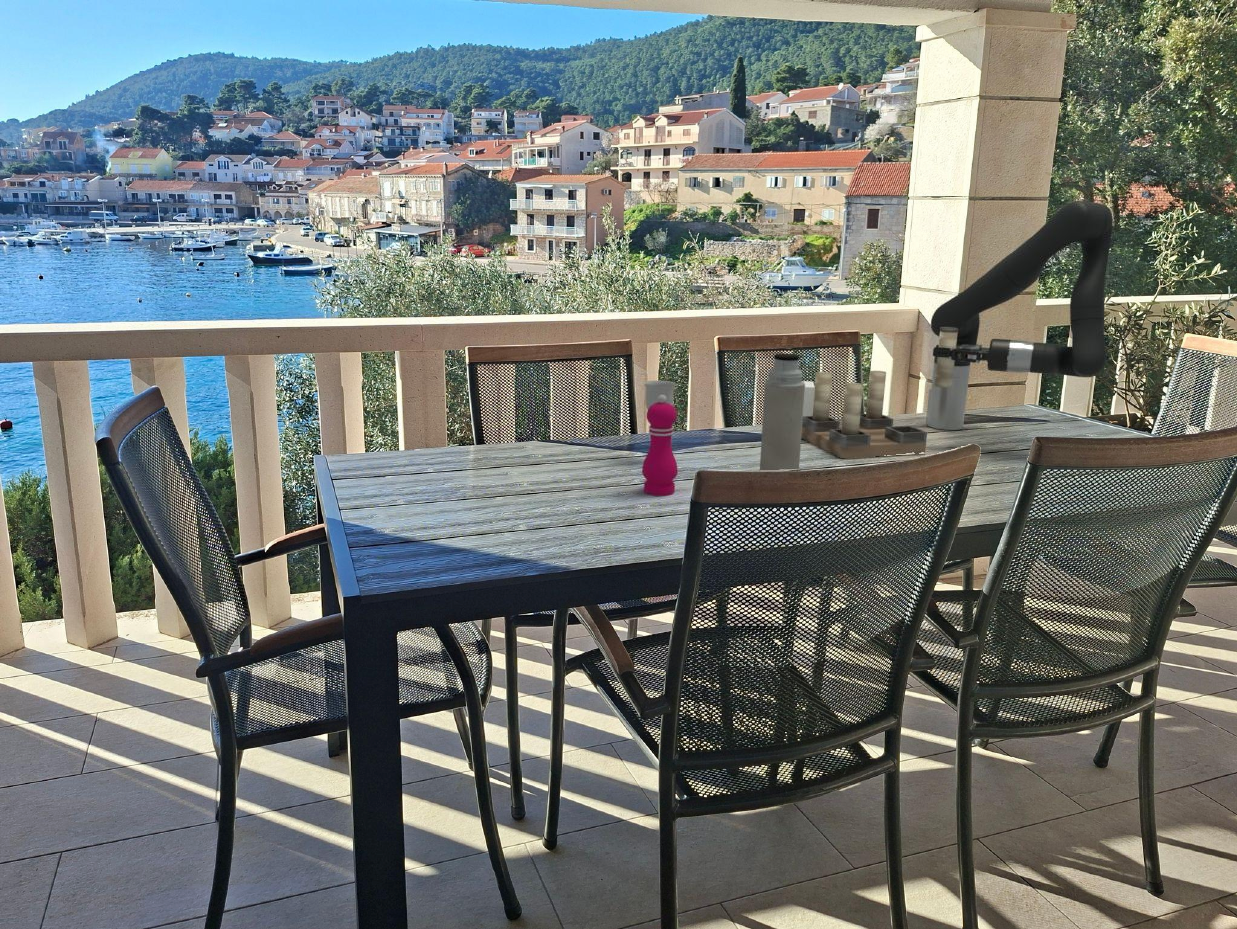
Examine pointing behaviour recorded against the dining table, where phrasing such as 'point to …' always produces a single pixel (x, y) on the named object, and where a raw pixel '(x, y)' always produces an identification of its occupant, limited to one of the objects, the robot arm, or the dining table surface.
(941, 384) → the loose leg
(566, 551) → the dining table surface
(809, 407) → the base with upright slab
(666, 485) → the pepper mill
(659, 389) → the chalice
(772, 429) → the thermos bottle
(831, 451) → the stool seat
